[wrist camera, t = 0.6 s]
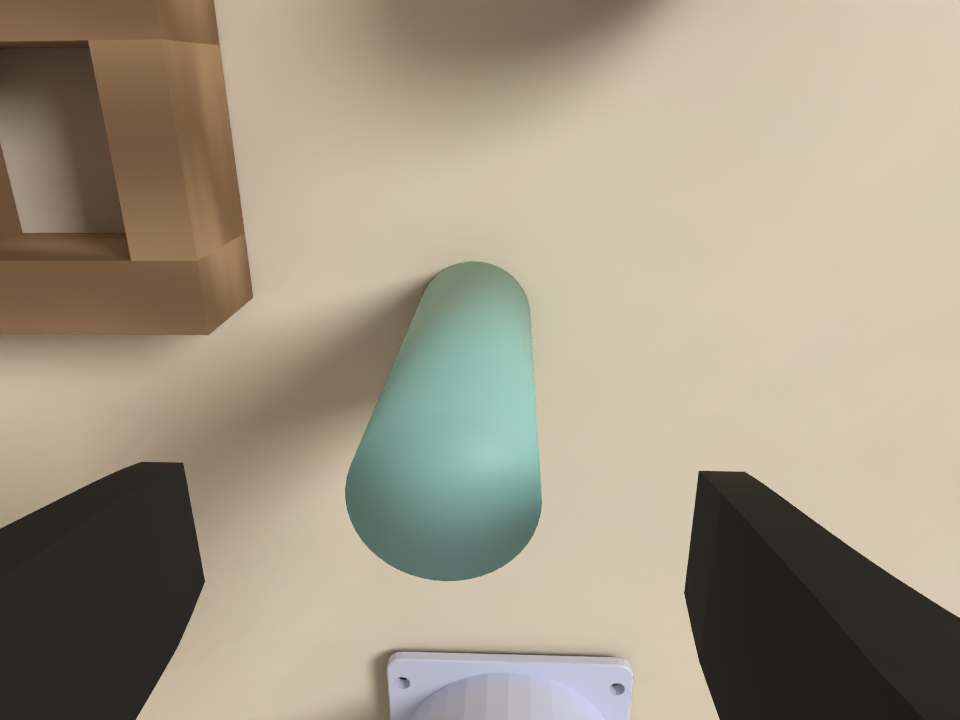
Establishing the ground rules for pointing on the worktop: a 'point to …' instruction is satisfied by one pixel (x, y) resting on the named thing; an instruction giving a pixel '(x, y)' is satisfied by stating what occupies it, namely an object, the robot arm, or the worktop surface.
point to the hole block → (136, 179)
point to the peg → (454, 434)
